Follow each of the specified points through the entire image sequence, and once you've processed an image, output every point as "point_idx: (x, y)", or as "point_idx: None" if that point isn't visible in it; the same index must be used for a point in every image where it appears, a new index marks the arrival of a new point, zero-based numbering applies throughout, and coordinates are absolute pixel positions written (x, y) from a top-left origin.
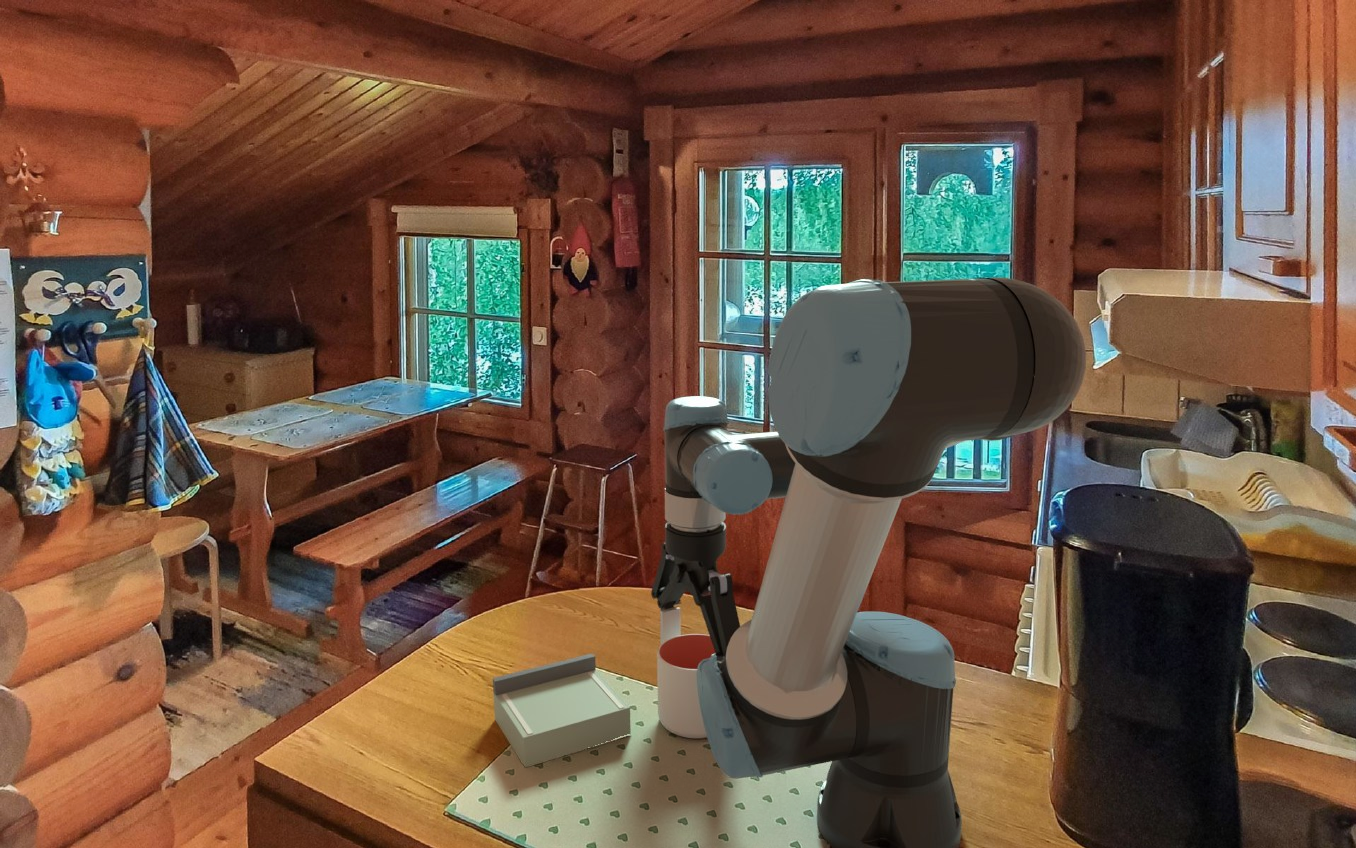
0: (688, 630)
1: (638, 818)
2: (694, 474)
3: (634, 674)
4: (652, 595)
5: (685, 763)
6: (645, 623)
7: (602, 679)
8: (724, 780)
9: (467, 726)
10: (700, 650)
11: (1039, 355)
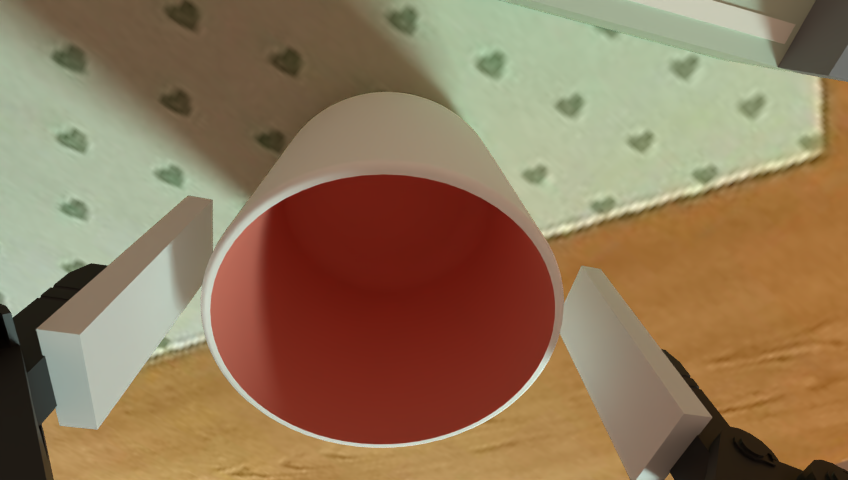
0: None
1: None
2: None
3: (683, 216)
4: (841, 477)
5: (229, 29)
6: (805, 369)
7: (709, 40)
8: (94, 63)
9: None
10: (476, 363)
11: None
